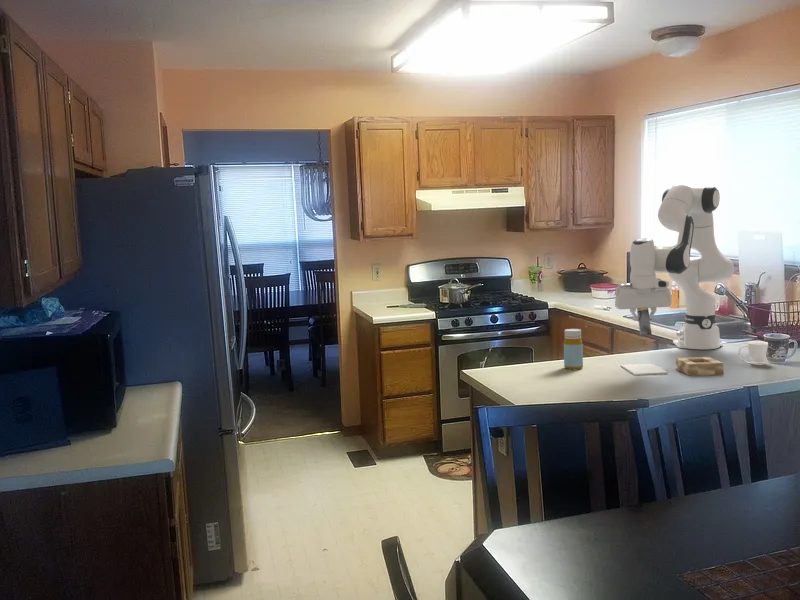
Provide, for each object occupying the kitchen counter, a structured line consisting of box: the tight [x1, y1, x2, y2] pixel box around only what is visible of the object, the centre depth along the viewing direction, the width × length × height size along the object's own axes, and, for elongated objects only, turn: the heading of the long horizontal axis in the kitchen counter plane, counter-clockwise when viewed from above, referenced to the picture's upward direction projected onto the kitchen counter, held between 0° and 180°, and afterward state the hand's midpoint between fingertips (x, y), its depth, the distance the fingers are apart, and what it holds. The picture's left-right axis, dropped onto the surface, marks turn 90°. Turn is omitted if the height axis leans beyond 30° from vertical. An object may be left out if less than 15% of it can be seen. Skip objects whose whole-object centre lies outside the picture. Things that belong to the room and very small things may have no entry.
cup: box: [738, 340, 769, 366], centre depth 253 cm, size 7×10×8 cm
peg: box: [636, 307, 652, 336], centre depth 249 cm, size 4×4×10 cm
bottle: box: [563, 328, 584, 370], centre depth 260 cm, size 7×7×15 cm
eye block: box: [675, 356, 724, 377], centre depth 245 cm, size 12×12×4 cm
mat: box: [620, 363, 669, 376], centre depth 251 cm, size 16×12×1 cm
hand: (643, 320), depth 249 cm, fingers closed on peg, 4 cm apart
